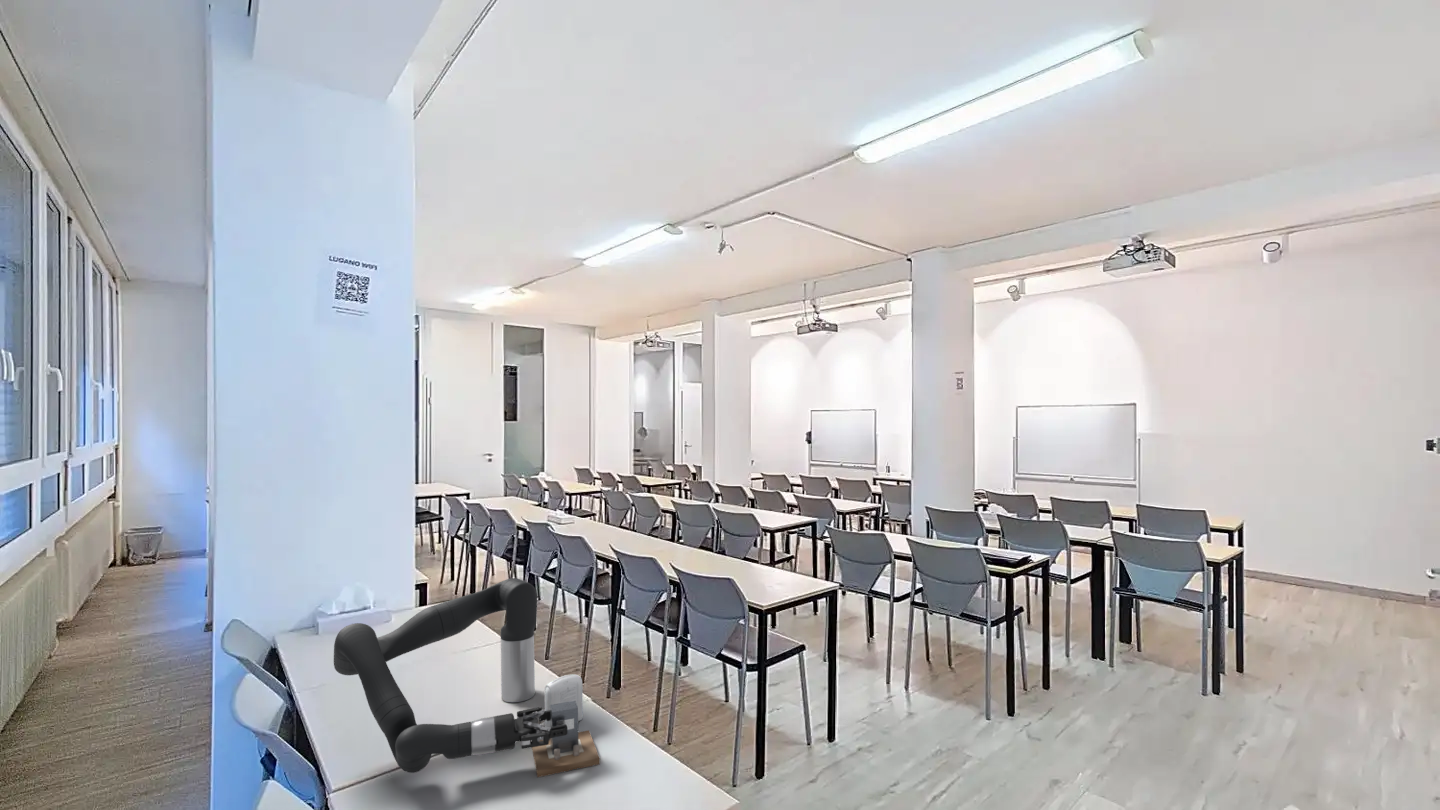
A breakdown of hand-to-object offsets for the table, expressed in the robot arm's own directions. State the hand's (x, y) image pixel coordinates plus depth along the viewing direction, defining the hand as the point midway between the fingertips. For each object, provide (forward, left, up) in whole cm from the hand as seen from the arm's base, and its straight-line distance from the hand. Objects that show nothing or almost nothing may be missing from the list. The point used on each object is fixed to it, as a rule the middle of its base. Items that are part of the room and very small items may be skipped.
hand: (564, 721), depth 157 cm
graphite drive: (0, 0, -7) cm, 7 cm away
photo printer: (-16, +2, -9) cm, 18 cm away
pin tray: (0, 0, -8) cm, 8 cm away
